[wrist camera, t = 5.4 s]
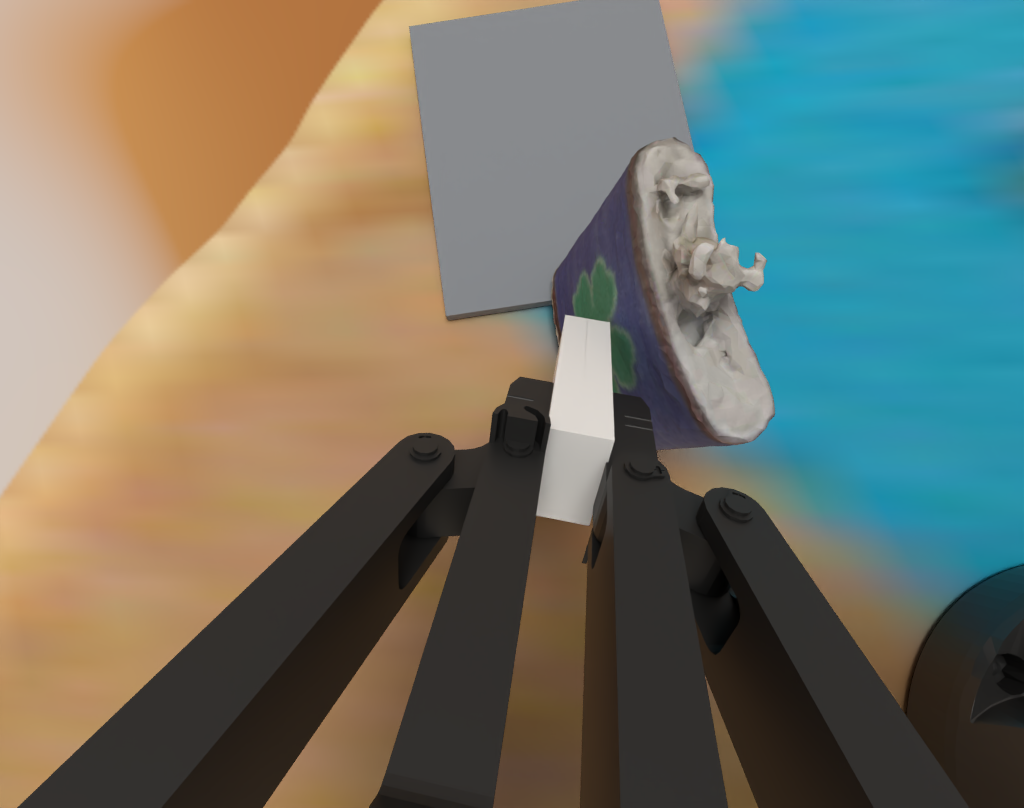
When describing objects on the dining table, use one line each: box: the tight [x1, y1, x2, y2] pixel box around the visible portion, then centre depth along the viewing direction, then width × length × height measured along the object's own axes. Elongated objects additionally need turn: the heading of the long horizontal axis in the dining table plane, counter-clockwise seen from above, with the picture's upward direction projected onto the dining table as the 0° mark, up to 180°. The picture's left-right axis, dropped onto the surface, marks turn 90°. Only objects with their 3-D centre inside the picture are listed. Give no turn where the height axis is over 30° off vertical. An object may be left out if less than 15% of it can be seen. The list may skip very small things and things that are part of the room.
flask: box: [551, 137, 775, 450], centre depth 17 cm, size 9×3×11 cm, turn 14°
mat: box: [409, 0, 694, 320], centre depth 24 cm, size 16×13×1 cm
